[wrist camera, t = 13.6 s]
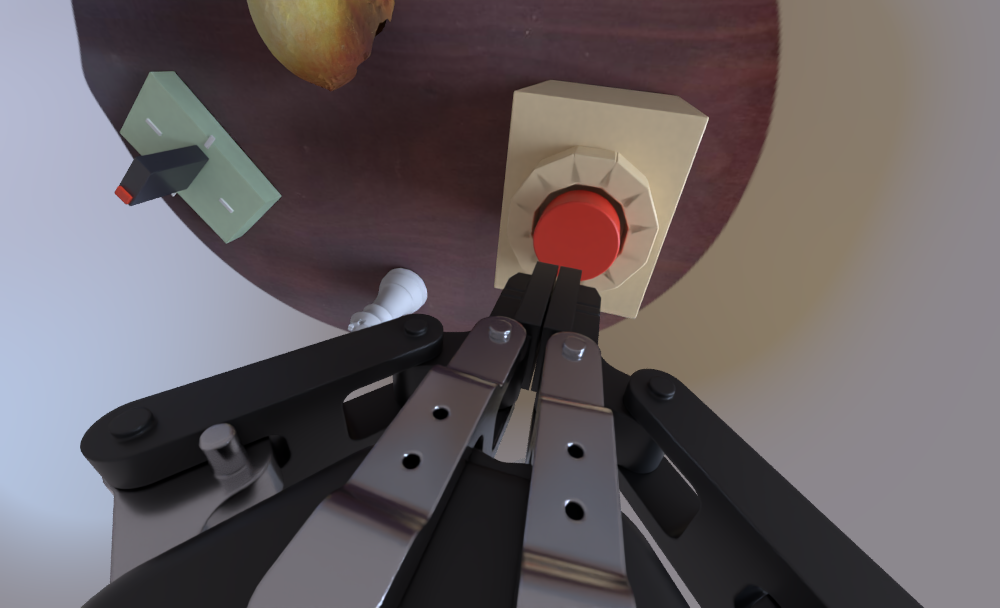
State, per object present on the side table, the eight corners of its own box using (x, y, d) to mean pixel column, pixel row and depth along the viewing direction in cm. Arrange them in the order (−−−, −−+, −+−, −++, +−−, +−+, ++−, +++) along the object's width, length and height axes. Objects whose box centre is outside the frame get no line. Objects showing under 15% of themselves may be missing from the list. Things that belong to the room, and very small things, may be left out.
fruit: (433, -27, 23) (361, -59, 17) (397, 108, 28) (329, 123, 22) (323, -94, 23) (206, -154, 16) (305, 53, 28) (209, 53, 21)
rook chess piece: (379, 284, 38) (328, 332, 31) (400, 256, 35) (350, 301, 29) (414, 314, 38) (372, 365, 32) (437, 288, 36) (397, 339, 29)
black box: (196, 144, 32) (131, 157, 28) (209, 159, 32) (147, 174, 28) (174, 175, 34) (111, 192, 30) (187, 189, 35) (126, 207, 31)
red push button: (608, 271, 18) (607, 289, 17) (534, 256, 19) (527, 272, 17) (630, 197, 16) (630, 210, 15) (546, 182, 17) (539, 194, 15)
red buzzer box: (631, 244, 29) (636, 339, 19) (528, 224, 30) (484, 304, 21) (678, 96, 23) (719, 123, 14) (550, 79, 25) (502, 93, 15)
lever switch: (285, 192, 35) (267, 199, 33) (240, 238, 39) (222, 247, 38) (176, 65, 31) (150, 66, 29) (140, 133, 36) (115, 136, 34)
